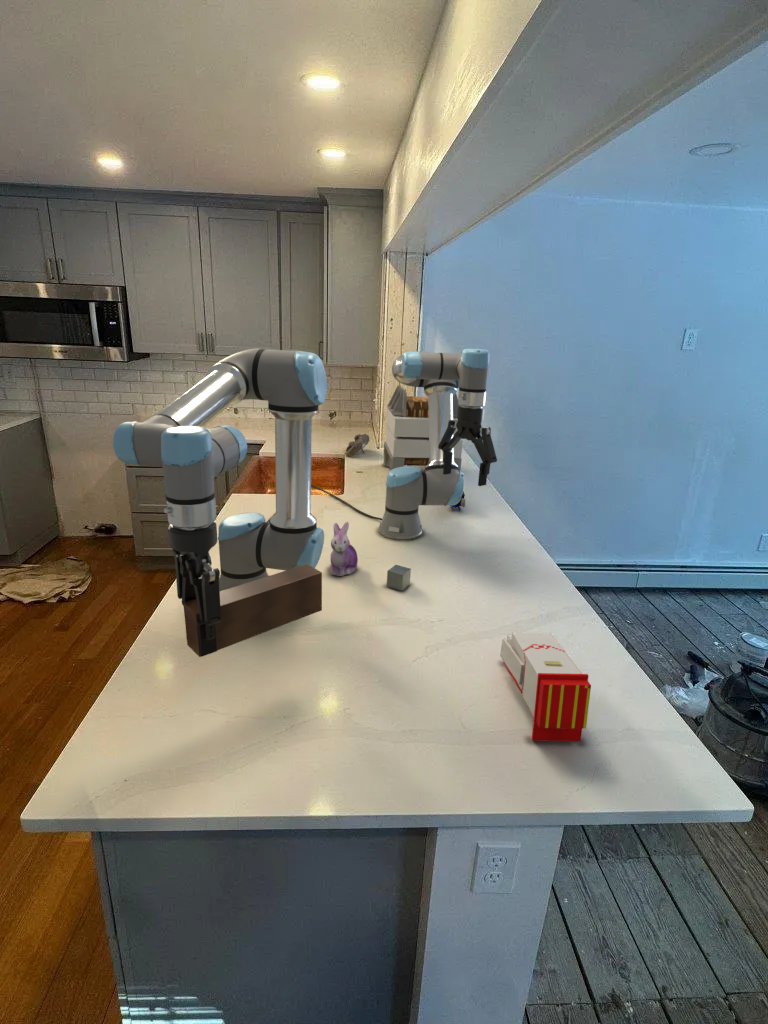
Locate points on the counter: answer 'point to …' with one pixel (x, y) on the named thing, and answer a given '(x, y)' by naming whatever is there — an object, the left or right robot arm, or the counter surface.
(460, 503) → the figurine character
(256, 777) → the counter surface
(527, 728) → the counter surface
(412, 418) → the grey slatted crate
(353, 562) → the figurine
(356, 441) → the fossil
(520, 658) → the toy
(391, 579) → the grey block
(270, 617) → the walnut bar
